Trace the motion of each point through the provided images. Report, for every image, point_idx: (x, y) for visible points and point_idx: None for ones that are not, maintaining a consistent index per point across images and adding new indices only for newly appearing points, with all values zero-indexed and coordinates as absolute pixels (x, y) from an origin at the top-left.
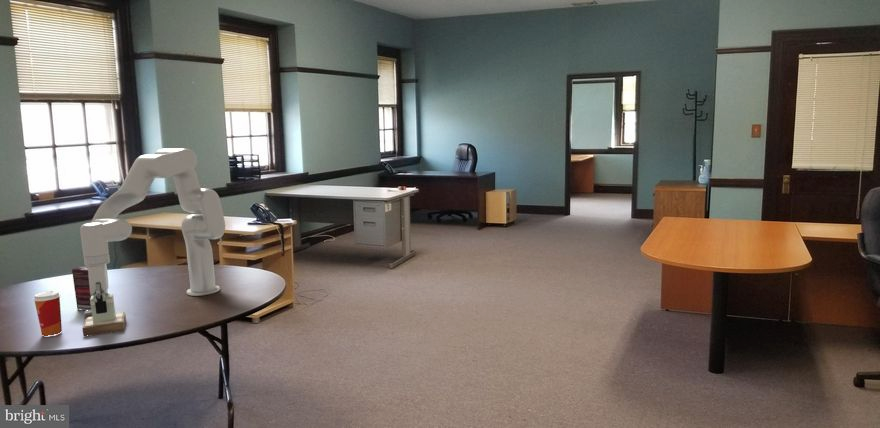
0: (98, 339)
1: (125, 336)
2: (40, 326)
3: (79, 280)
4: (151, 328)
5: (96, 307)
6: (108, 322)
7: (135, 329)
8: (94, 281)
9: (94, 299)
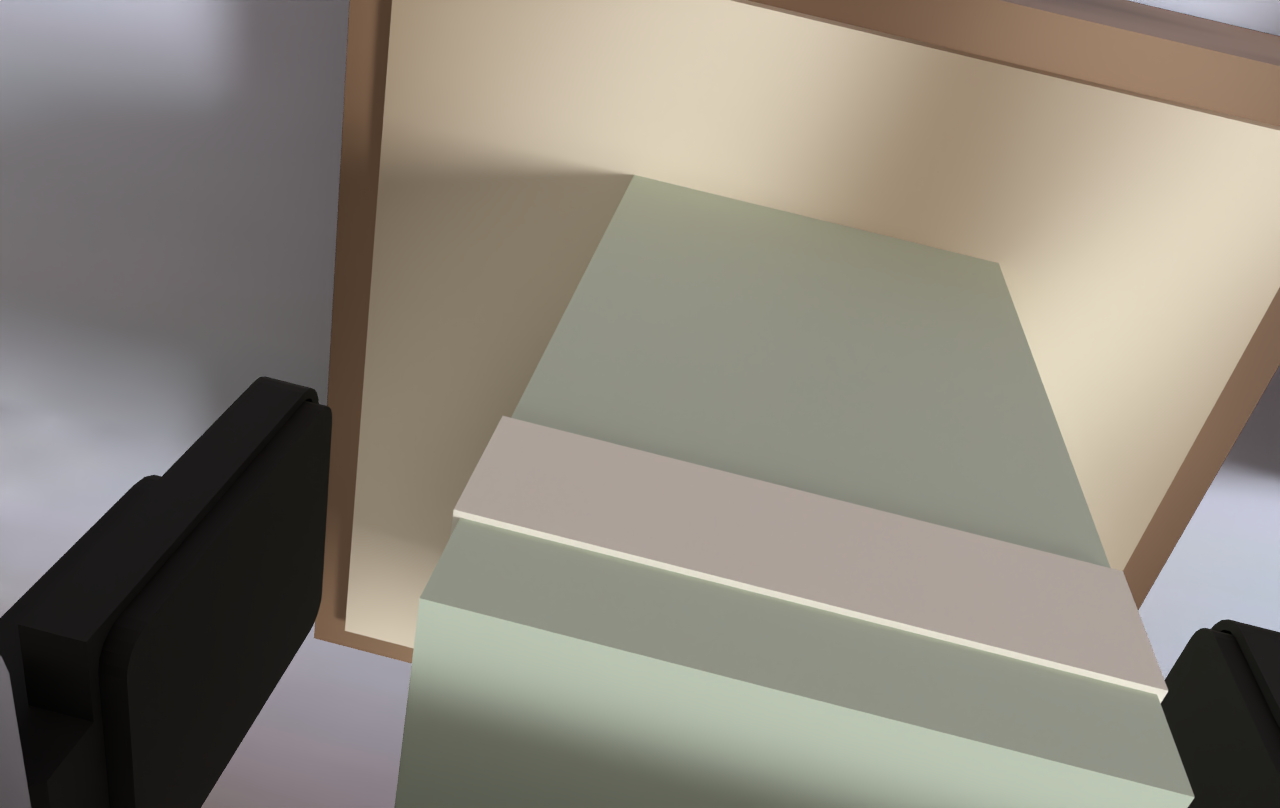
0: (92, 96)
1: (58, 477)
2: None
3: None
4: (267, 790)
5: (164, 508)
6: (399, 445)
7: (346, 654)
8: None
9: (410, 722)
